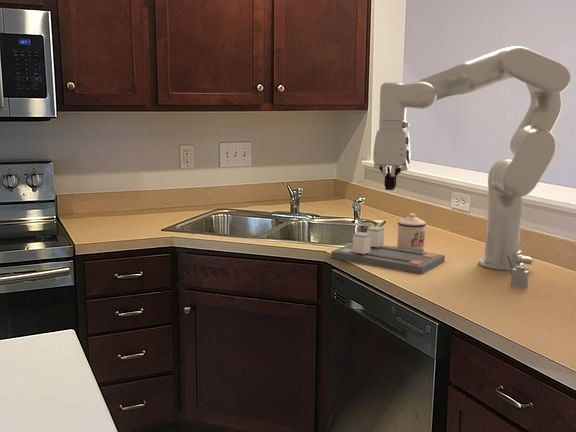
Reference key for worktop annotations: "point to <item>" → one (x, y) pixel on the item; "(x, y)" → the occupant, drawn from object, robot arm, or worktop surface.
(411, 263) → the panel
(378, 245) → the on switch
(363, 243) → the beige slider knob
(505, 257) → the lighter
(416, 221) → the teacup with lid
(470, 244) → the worktop surface
